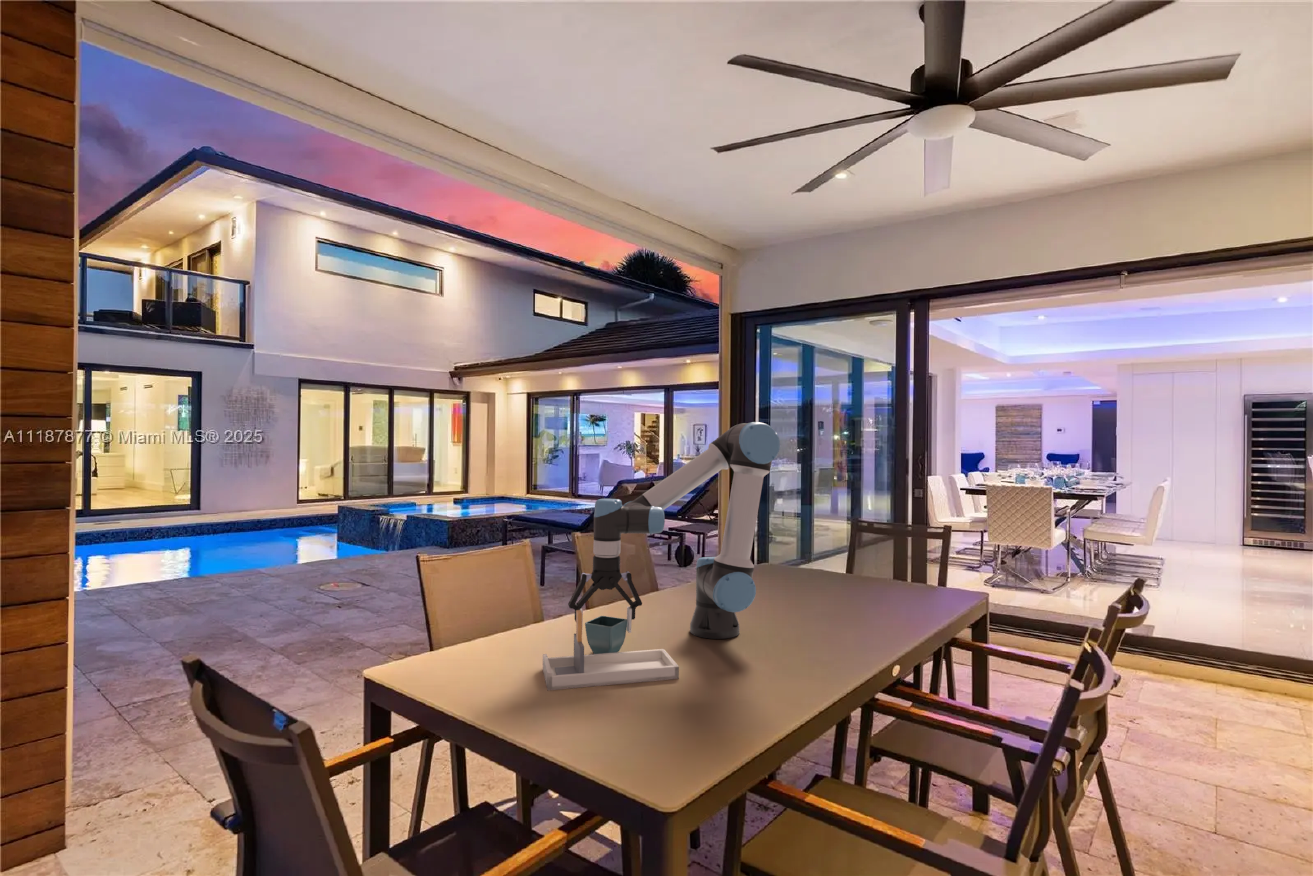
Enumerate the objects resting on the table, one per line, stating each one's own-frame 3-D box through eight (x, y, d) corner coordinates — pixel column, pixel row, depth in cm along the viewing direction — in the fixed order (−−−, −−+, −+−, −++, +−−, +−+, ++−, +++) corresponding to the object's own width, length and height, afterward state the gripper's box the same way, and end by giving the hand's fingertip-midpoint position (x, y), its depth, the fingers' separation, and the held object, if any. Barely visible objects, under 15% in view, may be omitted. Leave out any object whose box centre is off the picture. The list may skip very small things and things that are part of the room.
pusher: (577, 664, 165) (578, 606, 165) (583, 680, 154) (584, 617, 154) (553, 666, 164) (554, 607, 164) (558, 682, 153) (559, 619, 153)
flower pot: (583, 655, 176) (584, 622, 176) (601, 646, 183) (601, 615, 183) (611, 660, 172) (611, 627, 172) (627, 651, 179) (628, 619, 179)
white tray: (663, 660, 172) (663, 645, 172) (678, 678, 159) (678, 662, 159) (542, 670, 164) (542, 654, 164) (547, 690, 151) (547, 673, 151)
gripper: (647, 552, 184) (645, 626, 184) (559, 553, 178) (557, 630, 178) (654, 556, 177) (652, 634, 177) (562, 558, 171) (560, 638, 171)
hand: (604, 632), depth 177 cm, fingers open, 13 cm apart
